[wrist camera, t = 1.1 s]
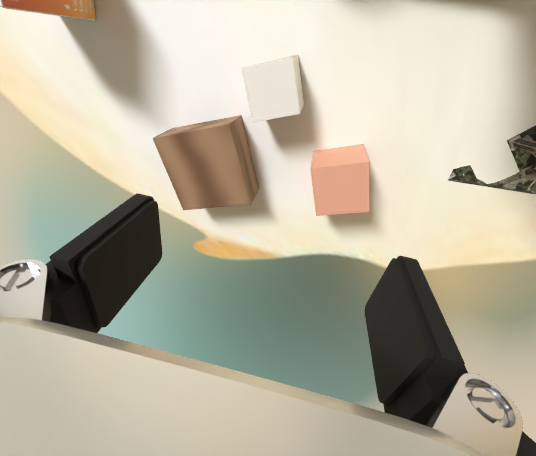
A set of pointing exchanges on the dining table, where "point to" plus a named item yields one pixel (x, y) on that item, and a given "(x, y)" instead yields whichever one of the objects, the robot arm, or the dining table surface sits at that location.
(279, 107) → the pale grey cube
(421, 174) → the dining table surface
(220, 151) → the walnut base block
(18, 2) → the small box
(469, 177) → the eiffel tower figurine
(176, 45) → the dining table surface
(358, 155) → the terracotta cube
